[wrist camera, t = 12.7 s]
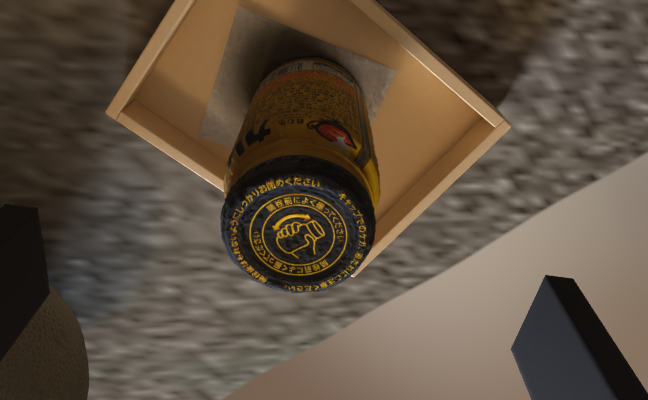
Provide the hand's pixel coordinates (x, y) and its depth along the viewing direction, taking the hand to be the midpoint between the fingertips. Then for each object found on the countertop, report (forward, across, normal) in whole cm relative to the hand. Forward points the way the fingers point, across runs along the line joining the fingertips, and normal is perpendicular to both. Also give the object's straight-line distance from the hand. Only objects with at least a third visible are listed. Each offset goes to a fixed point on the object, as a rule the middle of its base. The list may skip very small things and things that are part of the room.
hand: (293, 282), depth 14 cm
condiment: (+16, -1, -1) cm, 16 cm away
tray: (+16, 0, -1) cm, 16 cm away
